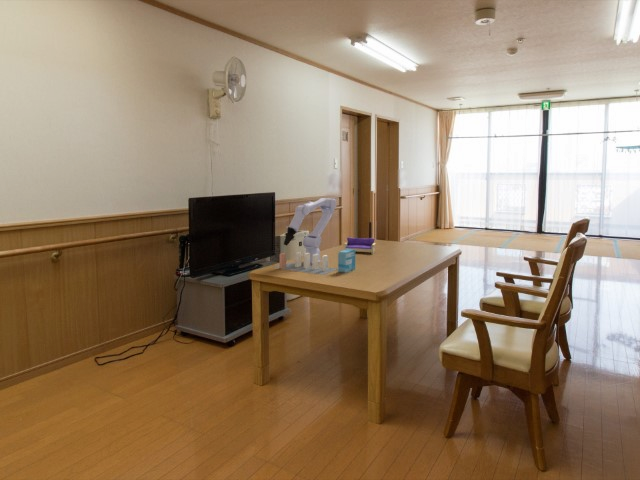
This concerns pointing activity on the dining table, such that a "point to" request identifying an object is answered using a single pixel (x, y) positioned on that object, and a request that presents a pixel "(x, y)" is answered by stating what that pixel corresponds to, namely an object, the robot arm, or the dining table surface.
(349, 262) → the data package
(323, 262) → the tile
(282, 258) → the tile
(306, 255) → the tile
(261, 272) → the dining table surface
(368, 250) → the toy sofa
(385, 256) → the dining table surface
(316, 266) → the tile
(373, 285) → the dining table surface
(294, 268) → the mat
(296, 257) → the beige rectangular block
